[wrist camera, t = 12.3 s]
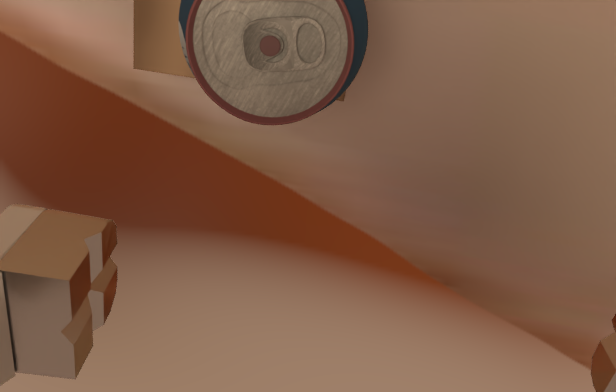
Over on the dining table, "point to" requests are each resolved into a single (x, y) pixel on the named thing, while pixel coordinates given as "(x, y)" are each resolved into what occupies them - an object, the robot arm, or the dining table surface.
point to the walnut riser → (161, 38)
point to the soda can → (273, 54)
